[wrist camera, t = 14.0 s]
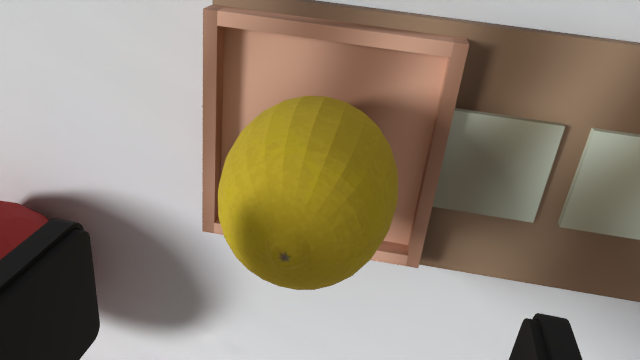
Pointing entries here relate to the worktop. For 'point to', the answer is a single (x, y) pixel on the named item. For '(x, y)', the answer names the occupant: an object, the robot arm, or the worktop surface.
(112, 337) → the worktop surface
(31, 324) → the robot arm
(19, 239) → the tomato
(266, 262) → the lemon
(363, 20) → the board
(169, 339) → the worktop surface
